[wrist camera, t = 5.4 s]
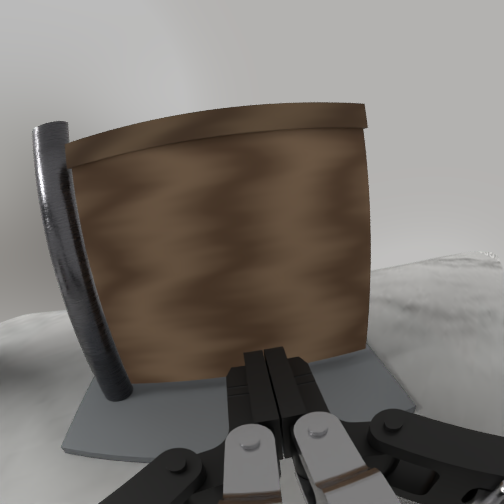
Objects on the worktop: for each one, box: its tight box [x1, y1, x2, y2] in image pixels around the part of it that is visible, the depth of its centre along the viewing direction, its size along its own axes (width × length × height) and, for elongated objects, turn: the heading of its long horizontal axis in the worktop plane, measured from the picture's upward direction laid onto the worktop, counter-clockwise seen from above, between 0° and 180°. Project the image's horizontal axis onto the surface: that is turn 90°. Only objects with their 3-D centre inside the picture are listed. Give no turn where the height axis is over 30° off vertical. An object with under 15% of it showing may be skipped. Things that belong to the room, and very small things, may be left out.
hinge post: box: [32, 121, 133, 402], centre depth 15 cm, size 2×2×19 cm
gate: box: [65, 102, 371, 384], centre depth 16 cm, size 16×2×15 cm, turn 96°
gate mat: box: [61, 343, 416, 463], centre depth 21 cm, size 22×18×1 cm
